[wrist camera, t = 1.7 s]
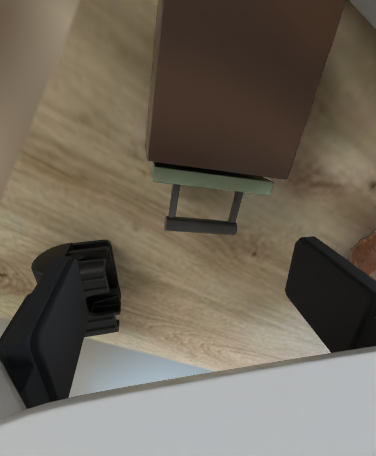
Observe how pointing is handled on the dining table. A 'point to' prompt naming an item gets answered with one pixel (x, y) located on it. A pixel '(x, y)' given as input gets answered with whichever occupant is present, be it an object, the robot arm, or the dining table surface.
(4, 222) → the dining table surface
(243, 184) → the drawer
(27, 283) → the dining table surface
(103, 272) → the end cap
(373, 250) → the decorative rock
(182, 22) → the cabinet
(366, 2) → the grey blocky shape
